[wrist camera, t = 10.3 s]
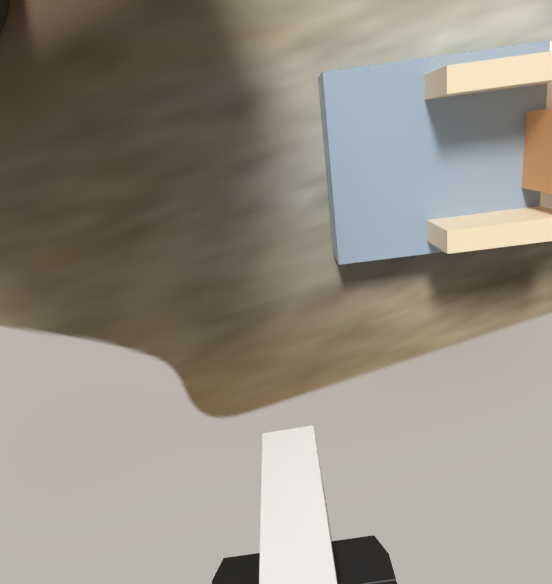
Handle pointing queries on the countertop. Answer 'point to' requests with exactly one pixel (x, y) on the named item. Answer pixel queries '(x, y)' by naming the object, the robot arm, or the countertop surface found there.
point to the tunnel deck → (433, 153)
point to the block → (538, 151)
